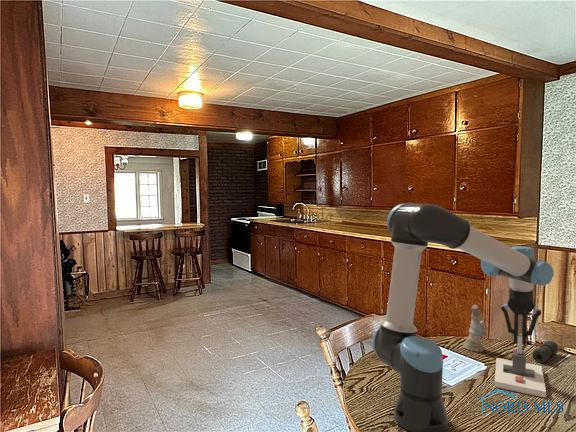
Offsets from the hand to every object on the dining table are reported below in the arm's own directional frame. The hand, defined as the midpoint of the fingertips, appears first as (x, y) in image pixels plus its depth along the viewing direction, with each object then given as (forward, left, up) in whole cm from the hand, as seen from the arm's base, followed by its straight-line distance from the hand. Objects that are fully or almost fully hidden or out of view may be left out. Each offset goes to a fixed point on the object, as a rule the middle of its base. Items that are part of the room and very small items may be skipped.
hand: (519, 352), depth 142 cm
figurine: (+20, +16, -9) cm, 27 cm away
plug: (0, 0, -9) cm, 9 cm away
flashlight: (+24, -10, -9) cm, 28 cm away
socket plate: (-2, 0, -9) cm, 9 cm away
